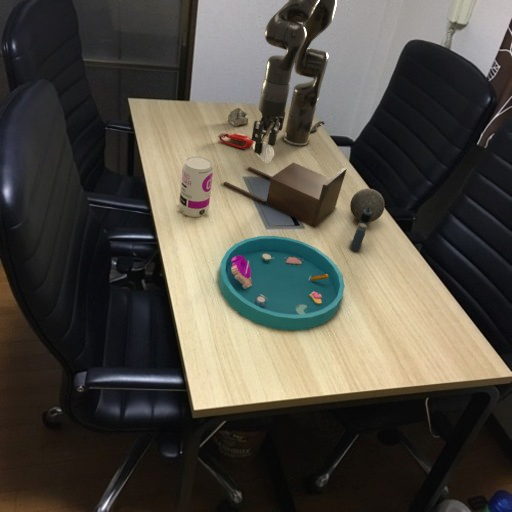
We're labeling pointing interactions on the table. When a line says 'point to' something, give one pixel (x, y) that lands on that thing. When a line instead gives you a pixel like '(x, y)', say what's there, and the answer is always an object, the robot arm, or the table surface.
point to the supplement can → (195, 186)
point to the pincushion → (266, 152)
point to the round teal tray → (281, 283)
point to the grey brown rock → (237, 117)
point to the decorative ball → (367, 204)
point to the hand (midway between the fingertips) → (264, 148)
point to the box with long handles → (300, 192)
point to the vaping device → (361, 230)
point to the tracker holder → (237, 137)
